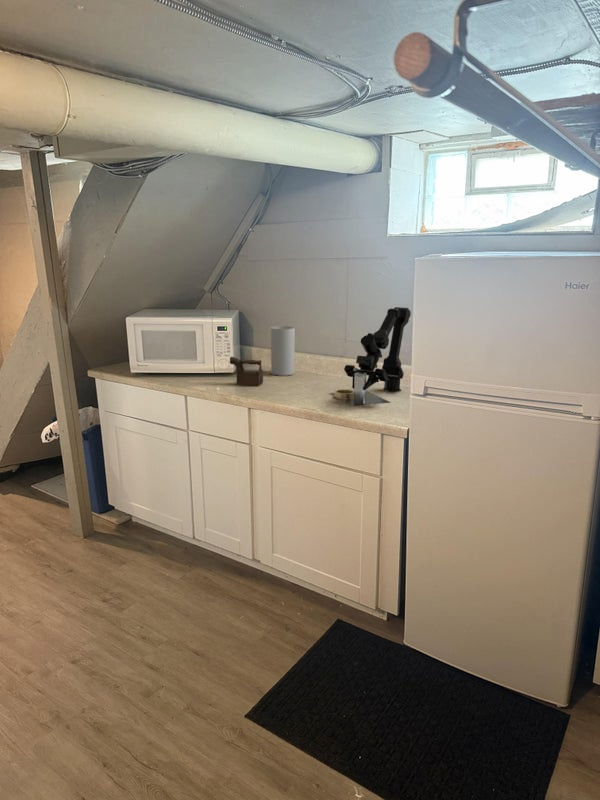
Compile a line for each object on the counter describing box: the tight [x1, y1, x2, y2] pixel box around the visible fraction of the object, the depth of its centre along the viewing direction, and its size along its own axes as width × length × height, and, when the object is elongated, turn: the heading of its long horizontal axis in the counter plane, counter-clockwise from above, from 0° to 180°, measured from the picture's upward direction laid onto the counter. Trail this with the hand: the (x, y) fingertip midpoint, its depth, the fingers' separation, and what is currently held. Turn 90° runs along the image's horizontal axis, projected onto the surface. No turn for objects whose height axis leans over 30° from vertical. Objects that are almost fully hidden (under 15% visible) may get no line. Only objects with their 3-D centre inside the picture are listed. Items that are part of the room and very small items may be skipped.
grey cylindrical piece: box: [353, 372, 368, 404], centre depth 235 cm, size 5×5×13 cm
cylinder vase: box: [270, 325, 296, 377], centre depth 296 cm, size 12×12×25 cm
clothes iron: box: [229, 356, 264, 387], centre depth 273 cm, size 8×16×13 cm, turn 77°
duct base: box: [328, 389, 392, 407], centre depth 245 cm, size 19×24×3 cm
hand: (358, 389), depth 234 cm, fingers closed on grey cylindrical piece, 5 cm apart
